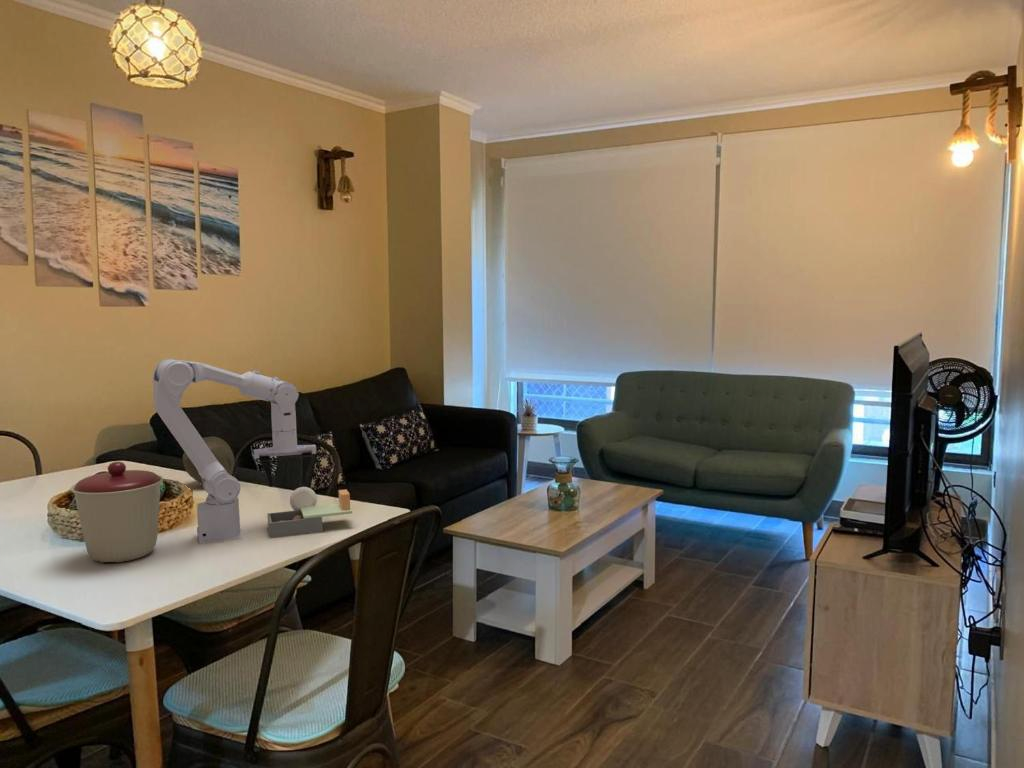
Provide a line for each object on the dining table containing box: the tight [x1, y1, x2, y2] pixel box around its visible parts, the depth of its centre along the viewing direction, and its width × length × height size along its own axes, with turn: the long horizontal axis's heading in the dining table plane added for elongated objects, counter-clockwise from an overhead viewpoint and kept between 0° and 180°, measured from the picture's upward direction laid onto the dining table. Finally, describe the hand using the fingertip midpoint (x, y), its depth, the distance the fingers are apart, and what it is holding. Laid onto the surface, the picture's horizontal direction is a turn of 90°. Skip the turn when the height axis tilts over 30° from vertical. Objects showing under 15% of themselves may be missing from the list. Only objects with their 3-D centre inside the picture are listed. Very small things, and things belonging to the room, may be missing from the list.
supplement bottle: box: [289, 486, 318, 511], centre depth 196 cm, size 7×7×13 cm
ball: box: [293, 515, 304, 520], centre depth 187 cm, size 3×3×3 cm
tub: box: [266, 510, 324, 539], centre depth 185 cm, size 12×9×4 cm
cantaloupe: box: [182, 436, 235, 485], centre depth 232 cm, size 14×14×15 cm
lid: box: [300, 489, 353, 519], centre depth 187 cm, size 11×8×4 cm
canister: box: [69, 461, 164, 563], centre depth 168 cm, size 18×18×21 cm
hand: (287, 484), depth 189 cm, fingers open, 7 cm apart
